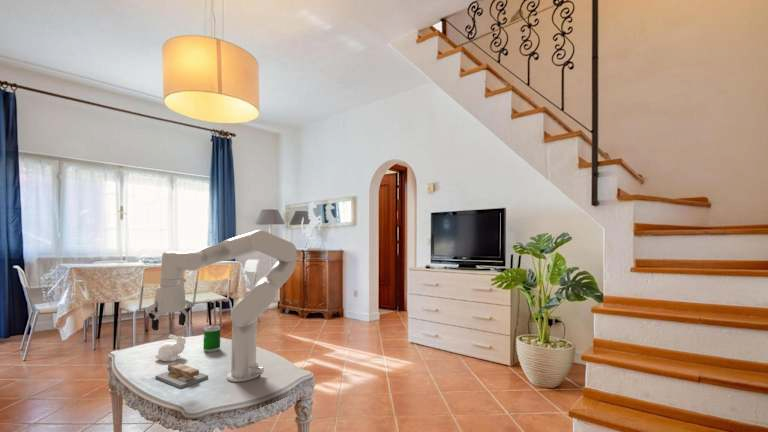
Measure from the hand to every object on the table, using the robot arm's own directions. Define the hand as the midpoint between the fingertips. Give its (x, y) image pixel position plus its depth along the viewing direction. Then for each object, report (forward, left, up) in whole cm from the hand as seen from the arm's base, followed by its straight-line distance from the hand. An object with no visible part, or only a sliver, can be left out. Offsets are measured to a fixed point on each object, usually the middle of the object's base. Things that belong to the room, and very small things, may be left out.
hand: (168, 327), depth 137 cm
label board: (-1, -7, -22) cm, 23 cm away
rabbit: (+20, -26, -22) cm, 40 cm away
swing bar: (-1, -7, -20) cm, 21 cm away
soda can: (+10, -40, -22) cm, 47 cm away
